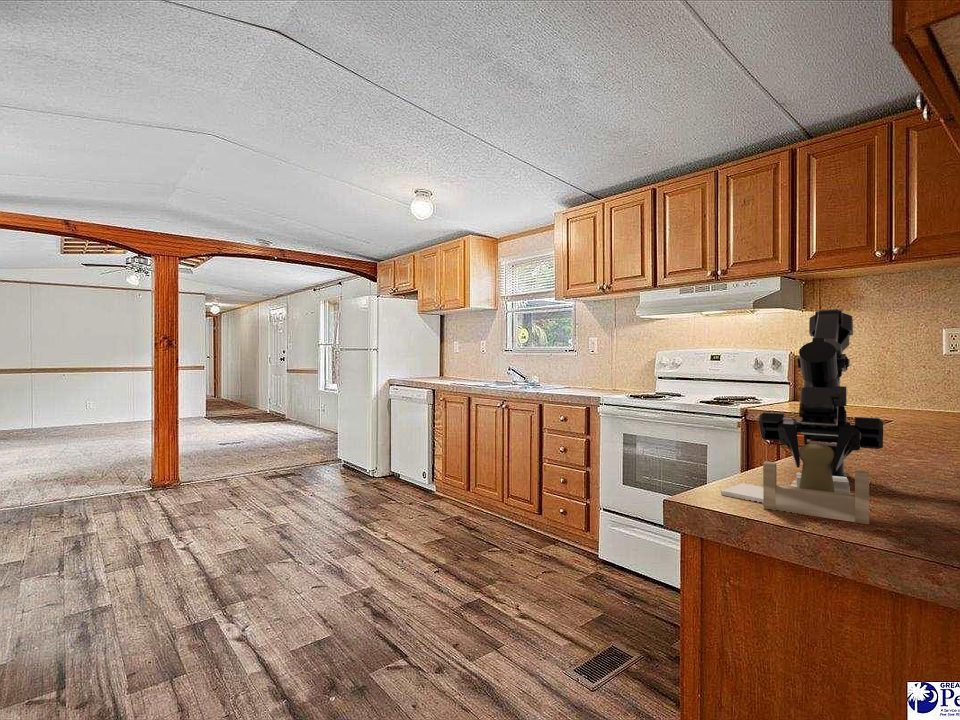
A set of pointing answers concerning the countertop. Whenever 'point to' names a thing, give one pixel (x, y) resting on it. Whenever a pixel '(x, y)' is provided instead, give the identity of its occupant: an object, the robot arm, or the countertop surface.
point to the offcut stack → (839, 483)
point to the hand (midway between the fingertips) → (816, 468)
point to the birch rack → (817, 498)
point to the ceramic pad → (745, 492)
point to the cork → (816, 467)
